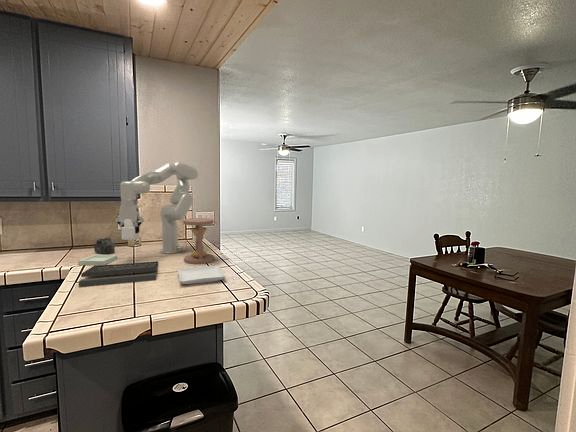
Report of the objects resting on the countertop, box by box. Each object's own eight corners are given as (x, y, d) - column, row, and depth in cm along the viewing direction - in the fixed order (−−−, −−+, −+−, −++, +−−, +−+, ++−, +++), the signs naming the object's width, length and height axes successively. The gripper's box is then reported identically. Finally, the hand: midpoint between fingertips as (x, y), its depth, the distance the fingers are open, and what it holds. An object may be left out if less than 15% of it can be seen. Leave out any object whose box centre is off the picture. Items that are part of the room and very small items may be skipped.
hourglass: (213, 263, 176) (213, 221, 173) (182, 264, 173) (181, 221, 170) (214, 256, 193) (214, 217, 191) (186, 257, 190) (185, 217, 187)
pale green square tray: (117, 259, 181) (117, 255, 181) (103, 265, 167) (103, 261, 167) (94, 258, 181) (94, 254, 181) (78, 265, 167) (78, 260, 167)
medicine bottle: (127, 237, 180) (125, 217, 178) (139, 237, 180) (138, 217, 179) (121, 239, 172) (120, 219, 171) (134, 239, 173) (133, 219, 171)
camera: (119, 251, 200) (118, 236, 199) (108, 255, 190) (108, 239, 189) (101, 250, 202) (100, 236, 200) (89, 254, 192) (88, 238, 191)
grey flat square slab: (176, 274, 156) (176, 268, 155) (218, 270, 164) (218, 264, 164) (179, 288, 137) (179, 280, 136) (226, 283, 145) (226, 276, 145)
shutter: (94, 278, 163) (79, 291, 134) (93, 265, 163) (77, 275, 134) (158, 270, 175) (156, 280, 146) (157, 258, 175) (155, 265, 146)
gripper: (146, 202, 177) (148, 232, 180) (117, 202, 177) (118, 231, 179) (140, 203, 170) (142, 234, 172) (109, 203, 170) (111, 234, 172)
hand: (130, 232), depth 176 cm, fingers closed on medicine bottle, 7 cm apart
